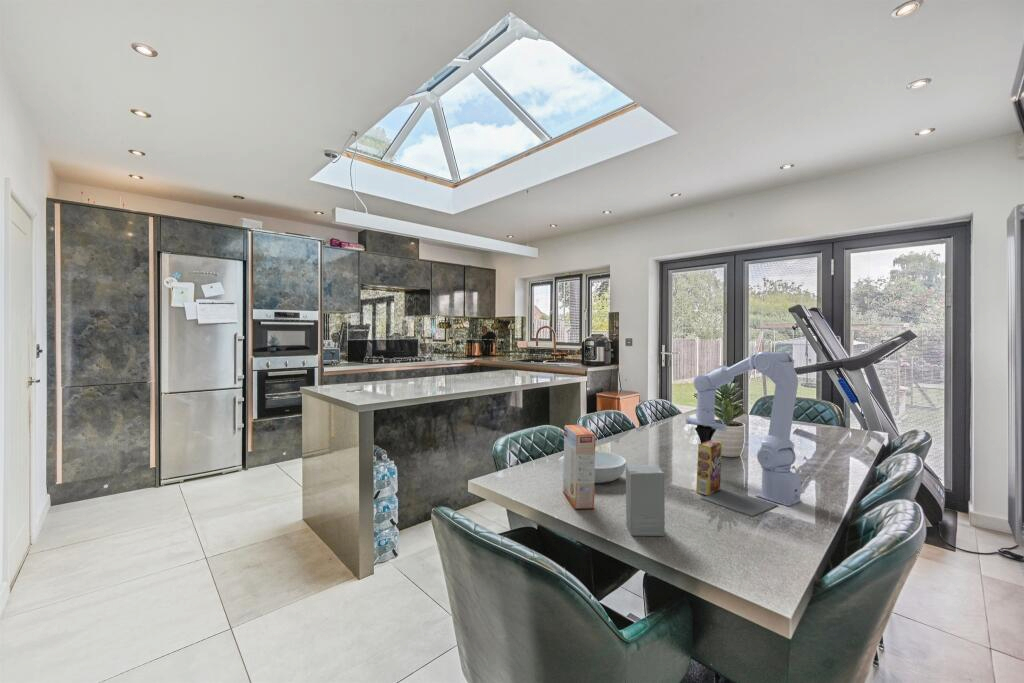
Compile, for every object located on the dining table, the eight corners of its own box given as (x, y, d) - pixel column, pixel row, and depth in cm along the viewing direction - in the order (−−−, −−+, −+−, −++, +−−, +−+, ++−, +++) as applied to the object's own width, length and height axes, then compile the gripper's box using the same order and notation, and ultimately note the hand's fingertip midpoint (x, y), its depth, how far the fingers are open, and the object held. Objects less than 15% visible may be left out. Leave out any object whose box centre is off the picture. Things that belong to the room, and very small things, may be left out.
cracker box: (595, 509, 120) (596, 434, 120) (574, 510, 119) (575, 434, 119) (581, 491, 134) (582, 424, 133) (562, 492, 133) (563, 424, 133)
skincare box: (657, 525, 110) (658, 463, 109) (665, 538, 102) (666, 472, 102) (623, 524, 110) (624, 462, 110) (629, 537, 103) (630, 471, 103)
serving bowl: (560, 468, 157) (561, 449, 157) (618, 470, 156) (619, 451, 156) (565, 488, 136) (566, 466, 136) (632, 490, 135) (632, 468, 135)
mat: (778, 506, 124) (778, 505, 124) (752, 516, 116) (752, 515, 116) (727, 490, 136) (727, 489, 136) (701, 498, 128) (701, 497, 128)
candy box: (710, 496, 130) (710, 446, 130) (695, 493, 133) (696, 443, 133) (721, 490, 136) (722, 441, 136) (707, 486, 140) (708, 439, 139)
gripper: (732, 411, 148) (731, 450, 148) (694, 405, 160) (693, 441, 161) (720, 412, 144) (719, 453, 145) (682, 406, 157) (681, 444, 157)
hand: (705, 447), depth 152 cm, fingers closed
